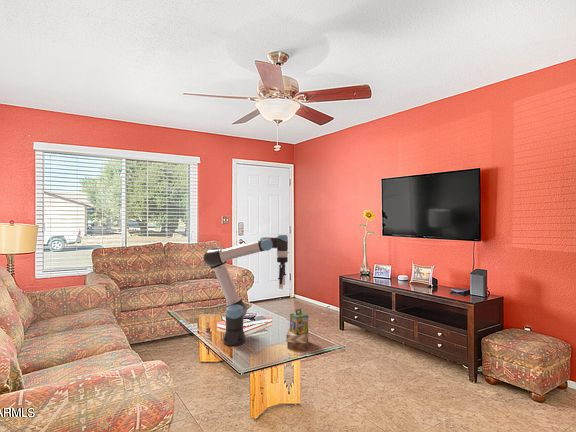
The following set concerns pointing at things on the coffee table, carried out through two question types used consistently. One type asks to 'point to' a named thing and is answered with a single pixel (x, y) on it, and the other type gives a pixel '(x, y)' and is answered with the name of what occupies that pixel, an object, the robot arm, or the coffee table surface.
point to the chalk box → (298, 323)
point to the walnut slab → (297, 345)
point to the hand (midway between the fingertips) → (282, 286)
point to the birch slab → (296, 337)
